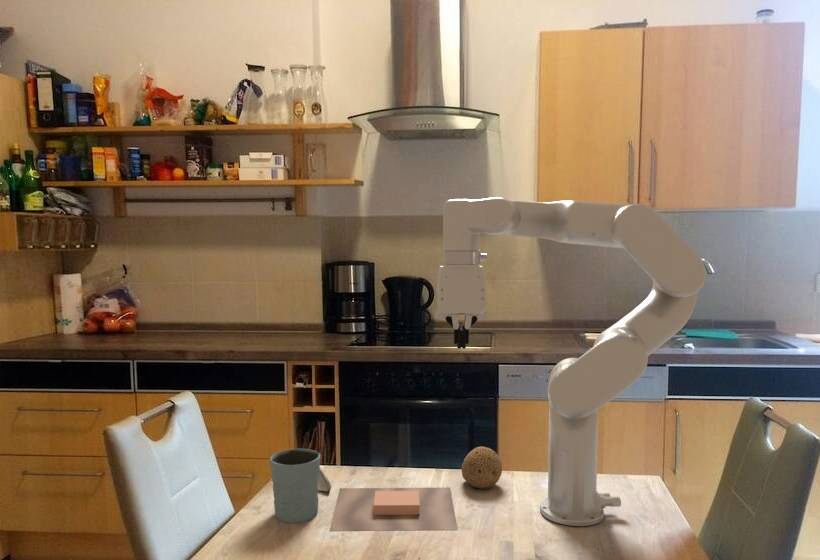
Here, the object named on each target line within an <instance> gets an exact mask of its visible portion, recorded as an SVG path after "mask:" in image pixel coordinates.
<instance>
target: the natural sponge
mask: <svg viewBox="0 0 820 560" xmlns="http://www.w3.org/2000/svg"><path fill="white" fill-rule="evenodd" d="M502 473H503V463H502V459H501V458H500V456H499V454H498V453H497V452H496V451H494V449H491V448H490V447H487V446H478V447H474V448H473V449H472V450H470V451H469V452H468V454H467V455H466V456H465V458H464V460H463V462H462V464H461V477H462V478H463V480H464V481H466V483H468V484H469V485H470V486H472V487H473V488H475V489H480V490H486V489H491V488H493V487H494V486H495V485H496V484H497V483H498V482H499V480H500V478H501V476H502Z"/></svg>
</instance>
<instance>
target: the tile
mask: <svg viewBox="0 0 820 560" xmlns="http://www.w3.org/2000/svg"><path fill="white" fill-rule="evenodd" d="M374 514H375V515H416V514H419V491H375V498H374Z"/></svg>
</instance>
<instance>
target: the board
mask: <svg viewBox="0 0 820 560" xmlns="http://www.w3.org/2000/svg"><path fill="white" fill-rule="evenodd" d="M375 491H419V514H416V515H375V514H374V498H375ZM458 530H459V529H458V524H457V518H456V512H455V507H454V502H453V497H452V491H451V487H450V486H449V487H352V488H351V487H346V488H345V487H341V488H339V491H338V495H337V499H336V503H335V507H334V512H333V515H332V519H331V524H330V526H329V532H376V531H377V532H380V531H381V532H384V531H385V532H386V531H387V532H388V531H389V532H395V531H398V532H399V531H400V532H401V531H405V532H406V531H410V532H411V531H458Z"/></svg>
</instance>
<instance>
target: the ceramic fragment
mask: <svg viewBox="0 0 820 560" xmlns="http://www.w3.org/2000/svg"><path fill="white" fill-rule="evenodd" d="M318 488H319V489H318V493H319V492H320V493H326V494H330V493H331V490H332V485H331V482H330V481H329V479H328V477H327V476H326V474H325V472H324V471H323V469H321V467H320V472H319V480H318Z"/></svg>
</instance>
